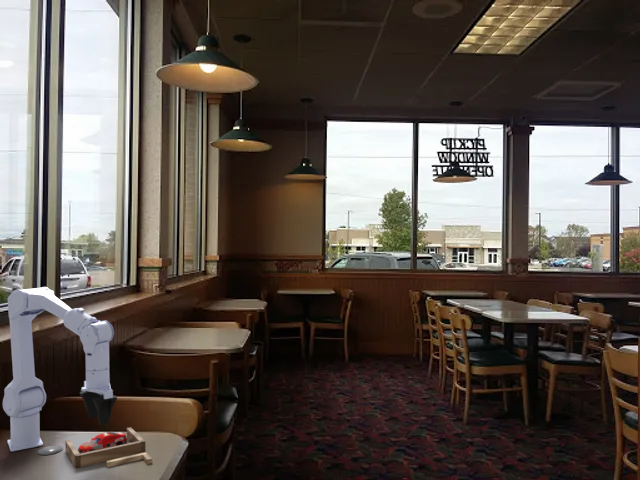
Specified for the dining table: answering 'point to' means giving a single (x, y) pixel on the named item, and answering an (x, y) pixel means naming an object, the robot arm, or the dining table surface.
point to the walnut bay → (106, 451)
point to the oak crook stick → (130, 459)
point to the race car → (103, 442)
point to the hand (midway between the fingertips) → (98, 420)
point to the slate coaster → (50, 450)
